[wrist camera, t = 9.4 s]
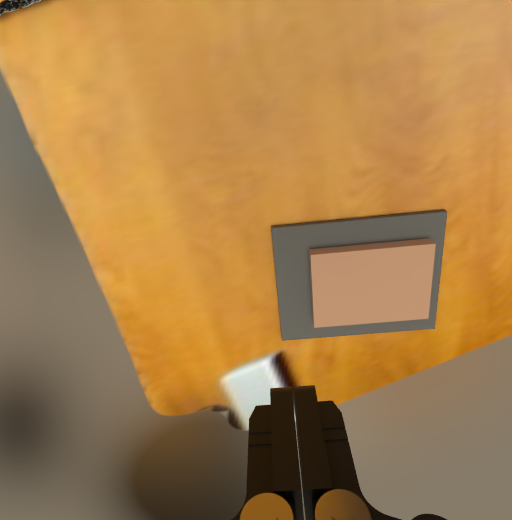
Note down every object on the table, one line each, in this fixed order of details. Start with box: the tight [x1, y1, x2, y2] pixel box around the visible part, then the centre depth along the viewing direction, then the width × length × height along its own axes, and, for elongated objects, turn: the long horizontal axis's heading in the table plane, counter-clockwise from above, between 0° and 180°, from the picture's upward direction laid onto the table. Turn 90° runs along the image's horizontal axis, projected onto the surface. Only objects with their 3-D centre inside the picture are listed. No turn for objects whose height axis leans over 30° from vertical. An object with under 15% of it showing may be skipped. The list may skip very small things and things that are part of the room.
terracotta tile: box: [309, 238, 436, 328], centre depth 46 cm, size 2×10×14 cm
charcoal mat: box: [271, 210, 447, 341], centre depth 47 cm, size 20×16×1 cm
